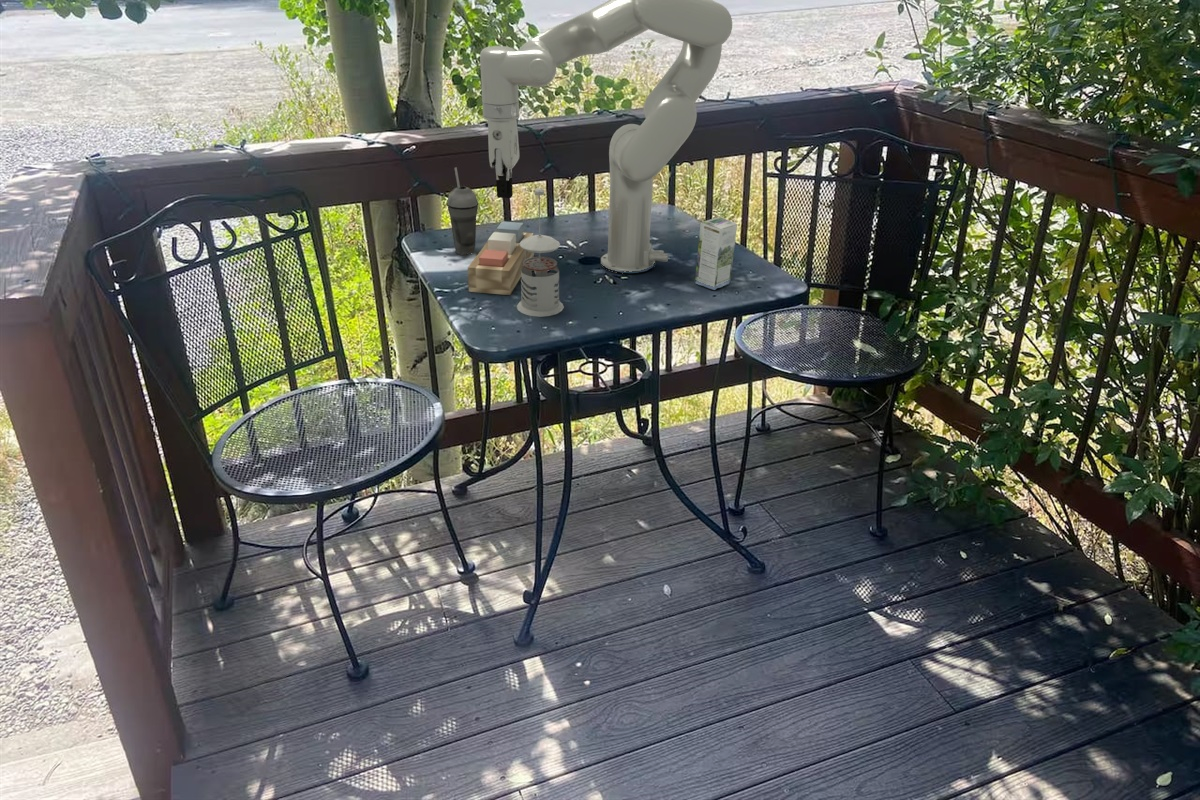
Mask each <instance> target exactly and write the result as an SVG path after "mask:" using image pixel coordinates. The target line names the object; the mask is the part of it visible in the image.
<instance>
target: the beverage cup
mask: <svg viewBox="0 0 1200 800" xmlns="http://www.w3.org/2000/svg"><path fill="white" fill-rule="evenodd" d="M454 172H455V173H454V174H455V179H456V185H457V187H454V188H452V190H451V191H450V192H449V195H448V196H447V204H446V206H447V210H448V214H449V218H450V224H451V232H452V237H453V238H452V239H453V244H454V245H453V246H454V249H455V253H456V254H457V253H458V254H457V255H460V254H462V255H461V256H467V255H466V254H470V255H472V254H471V253H473V254H475V252H476V240H477V239H476V237H477V214H478V210H479V209H478V208H479V207H478V206H479V202H478V197H477V195H476V193H475V191H473V190H472V189H471V188H470V187H467V186H464V185H462V186H461V185H460V180H459V173H458V168H457V167H454Z"/></svg>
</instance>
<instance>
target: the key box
mask: <svg viewBox="0 0 1200 800" xmlns="http://www.w3.org/2000/svg"><path fill="white" fill-rule="evenodd" d="M494 232H497V229H496V230H495V231H494ZM533 235H535V232H524V231H523V236H524V237H523V239H522V240H524V239H526V238H528V237H530V236H533ZM522 240H521V241H522ZM485 250H488V241H486V243H485V244H484V246H482V248H481V249H480V251H479V252H478V254H477V255H476V256H475V257H474V259H473V260H472V261H471V263H470V264H469V265H468V267H467V279H468V292H470V293H481V294H482V293H483V294H490V295H491V294H493V295H494V294H495V295H505V296H510V295H511V294H512V292H513V291H514V289H515V288H516V286H517V284H518V283H519V281H520V280H521V269H522V267H523V264H522V262H523V261H524V260H525V250H524V249H523V248H522V247H521V246H520V244H519V243H516V249H515V251H514V252H513V254H512V255H508V261H507V263H506V264H505V266H504V267H493V266H481V265H479V257H480V256H481V255H482V253H483V252H484V251H485ZM531 257H532V252H529V251H526V259H527V258H531ZM533 257H535V254H534V255H533Z"/></svg>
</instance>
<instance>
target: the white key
mask: <svg viewBox="0 0 1200 800" xmlns="http://www.w3.org/2000/svg"><path fill="white" fill-rule="evenodd" d="M487 242H488V250H496V251H508V255H512V254H513V252H514V251H515V249H516V234H513V233H500V232H495V231H493V233H492V234H491V235H490V236H489V238H488V239H487Z"/></svg>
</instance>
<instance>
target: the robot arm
mask: <svg viewBox="0 0 1200 800" xmlns="http://www.w3.org/2000/svg"><path fill="white" fill-rule="evenodd" d="M648 30H649V31H652V32H655V33H658V34H660V35H663V36H666V37H667V38H668V37H669V38H671V39H675V40H678V41H682V46H681V49H680V51H679V54H678V55H677V58H676V59H675V60H674V62H673V63H672V65H671V66H670V68H669V69H668V70H667V72H666V73H665V74H664V75H663V77H661V79H660V81H658V83H657V84H656V85H655V87H654V88H653V89H652V90H651V91H650V93H649V94H648V95H647V97H646V98H645V101H644V104H643V115H644V117H645V119H644V121H643V122H642V123H641V124H640V125H639V124H637V123H636V124H635V123H628V124H624V125H622V126H620V127H619V128H618V129H616V131H615V132H614V133H613V135H612V137H611V140H610V142H609V146H608V147H609V149H608V157H609V160H608V161H609V204H608V205H609V207H608V232H607V233H608V237H607V238H608V239H607V243H608V244H607V253H605V254H604V255H602V256H601V257H600V264H602V265H603V266H605V267H606V268H608V269H611V270H615V271H624V272H626V271H629V272H632V271H641V270H644V269H647V268H649V267H651V266H653V264H654V263H655V264H656V262H662V263H663V262H664V263H667V262H668V261H669V259H668V258H669V253H665V251H664V250H661V249H659V250H656V249H654V248H653V247H652V246H653V245H652V243H650V240H651V238H650V237H651V221H652V219H651V218H652V201H653V191H654V190H653V188H654V187H653V186H654V183H653V182H654V181H653V180H654V179H653V178H654V177H656V176H657V175H659V173H660V172H661V171H662V170H663V168H664V167H665V166H667V164H668V163H669V161H670V160H671V159H672V158H673V156H674V155H676V154H677V152H678V151H679V149H680V148H681V146H682V145H684V143H685V142H686V140H687V139H688V138H689V136H691V133H692V132H693V130H694V128H695V125H696V122H697V118H698V117H697V116H698V114H697V113H698V112H697V107H696V105H695V103H696V102H697V101H698V99H699V98H700V97H701V95H702V94H703V92H704V91H705V89H706V88H707V87H708V85H709V84H710V82H711V81H712V80H713V78H714V76H715V74H716V73H717V70H718V68H719V65H720V61H721V56H722V51H723V50H722V49H723V44H725V43H726V41H727V40H728V39H729V37H730V35H731V34H732V30H733V18H732V16H731V14H730V11H729V9H728V8H726V7H725V6H724V5H723V4H721V3H719V2H717V1H715V0H606V1H605V2H603V3H601V4H600V5H597V6H596V7H594V8H592V9H590V10H588V11H585V12H584V13H581V14H578V15H577V16H575V17H573V18H571V19H569V20H567V21H563V22H562V23H560V24H557V25H555V26H553V27H551V28H548V30H546V31H544V32H542V33H540V34H538V35H536V36H534V37H533V38H531V39H529V40H528V41H527V42H525V43H523V44H522V45H521V47H519V49H518V50H516V49H514V48H513V47H511V46H510V47H509V46H505V45H493V46H487V47H484V48H482V49H481V51H480V54H479V64H480V65H479V66H480V68H479V69H480V82H481V99H482V100H481V102H482V114H483V115H482V116H483V117H482V118H483V119H484V120H485V121H487V135H488V136H487V138H488V139H487V141H488V160H489V166H490V168H491V169H494V168H495V177H496V178H495V180H496V181H495V183H496V198H498V199H499V198H500V199H511V198H512V197H513V195H514V191H513V190H514V189H513V178H512V177H513V176H512V175H513V171H512V170H513V168H514V167H515V166H516V164H517V163H518V162H519V160H520V145H519V132H518V123H517V122H518V121H517V120H519V119H520V102H519V86H523V87H530V88H541V87H545V86H548V85H549V84H550V83H551V82H552V81H553V80H554V79H555V77H556V74H557V68H558V67H560V66H561V65H564V64H565V63H567V62H570V61H572V60H574V59H576V58H577V59H578V58H581V57H583V56H587V55H588V56H589V55H600V54H603V53H607V52H610V51H611V50H613V49H615V48H617V47H619V46H621V45H622V44H624V43H625V42H627V41H630V40H631V39H633V38H635V37H637V36H639V35H641V34H643V33H645V32H646V31H648ZM602 265H601V266H602ZM603 266H602V267H603Z"/></svg>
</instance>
